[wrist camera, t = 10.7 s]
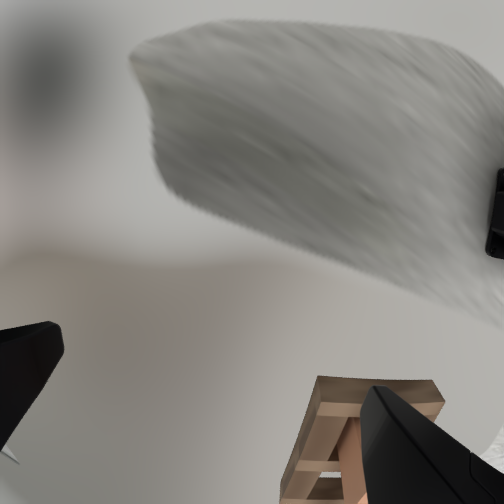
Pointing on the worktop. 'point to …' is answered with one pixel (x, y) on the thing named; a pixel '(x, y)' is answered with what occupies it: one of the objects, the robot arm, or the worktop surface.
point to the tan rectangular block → (352, 463)
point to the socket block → (329, 429)
